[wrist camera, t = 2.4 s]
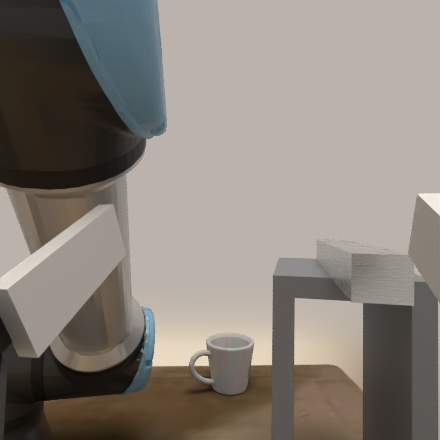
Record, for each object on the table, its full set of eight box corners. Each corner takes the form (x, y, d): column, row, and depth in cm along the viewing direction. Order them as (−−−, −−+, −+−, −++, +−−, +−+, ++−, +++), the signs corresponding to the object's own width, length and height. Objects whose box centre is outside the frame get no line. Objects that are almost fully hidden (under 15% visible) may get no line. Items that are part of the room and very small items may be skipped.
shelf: (438, 641, 27) (437, 282, 28) (270, 599, 30) (273, 275, 31) (377, 473, 46) (378, 260, 46) (277, 457, 49) (279, 257, 49)
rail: (414, 305, 19) (414, 254, 19) (351, 302, 20) (351, 253, 20) (342, 261, 45) (343, 239, 45) (316, 260, 45) (316, 239, 45)
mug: (263, 391, 68) (263, 344, 69) (199, 410, 61) (200, 356, 61) (237, 372, 77) (237, 329, 78) (178, 386, 70) (179, 339, 70)
